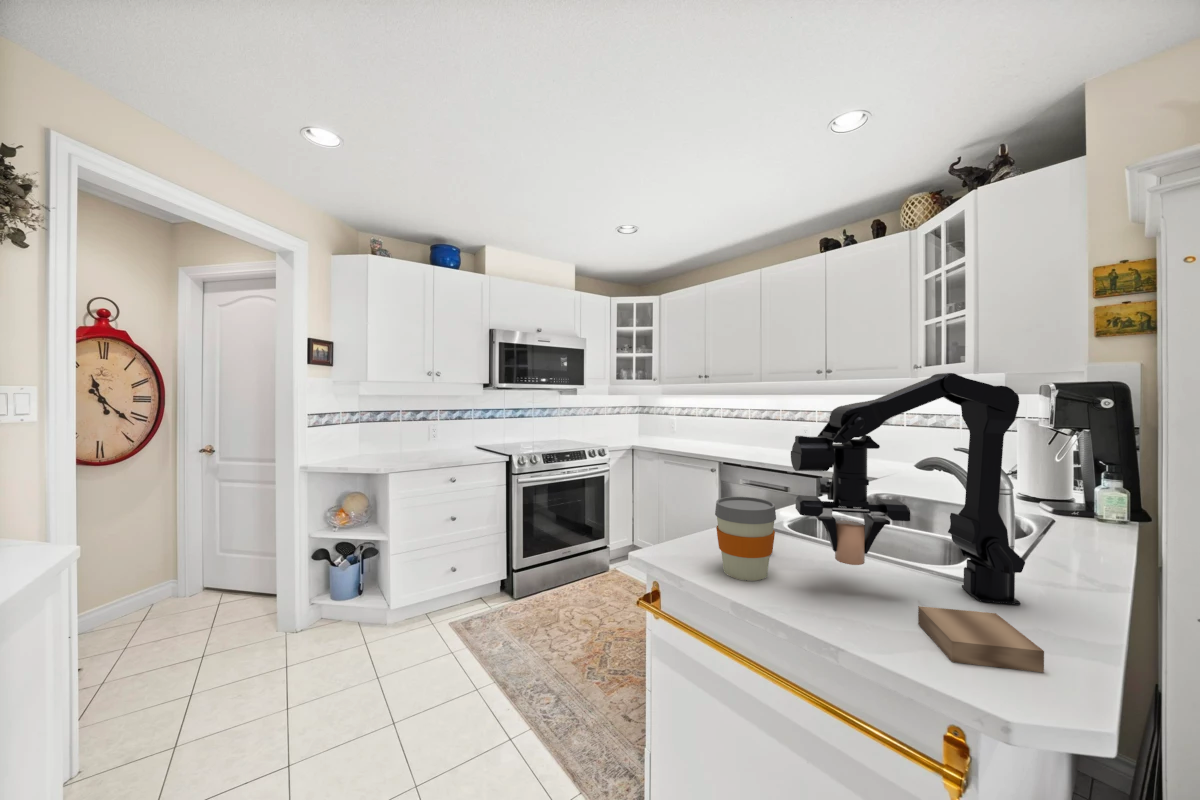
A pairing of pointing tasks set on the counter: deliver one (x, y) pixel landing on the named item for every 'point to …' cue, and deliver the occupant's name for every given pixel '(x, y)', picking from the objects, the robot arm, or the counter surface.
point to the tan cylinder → (850, 542)
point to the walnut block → (980, 639)
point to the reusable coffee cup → (745, 536)
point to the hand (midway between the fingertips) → (849, 551)
